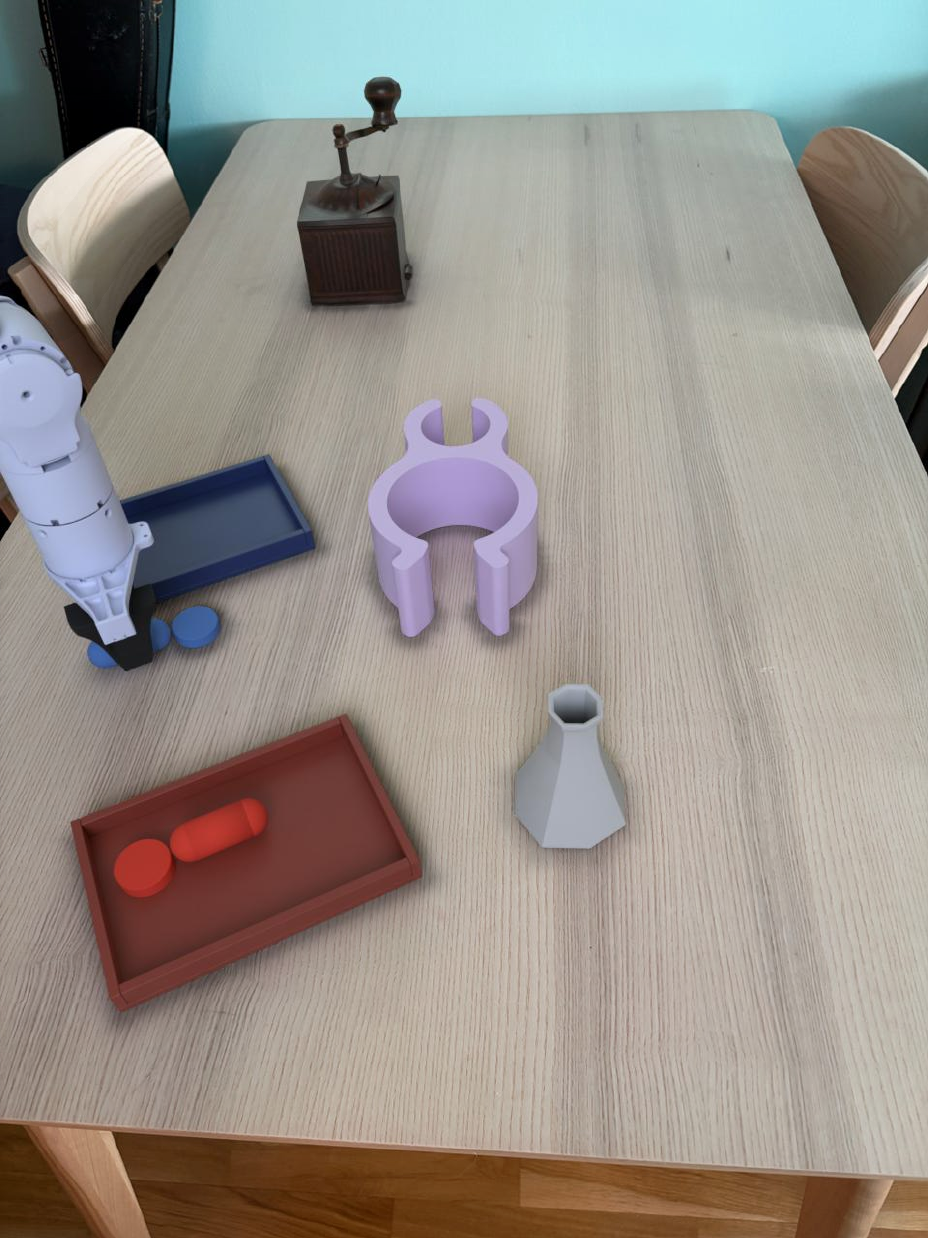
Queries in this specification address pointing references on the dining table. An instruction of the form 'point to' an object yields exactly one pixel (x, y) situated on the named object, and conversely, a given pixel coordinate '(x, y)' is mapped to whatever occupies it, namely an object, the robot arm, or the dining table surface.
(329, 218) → the manual coffee grinder
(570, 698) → the flask
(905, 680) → the dining table surface
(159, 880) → the red disc-ended bar
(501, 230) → the dining table surface
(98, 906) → the red tray
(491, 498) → the clip
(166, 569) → the blue tray
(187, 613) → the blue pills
